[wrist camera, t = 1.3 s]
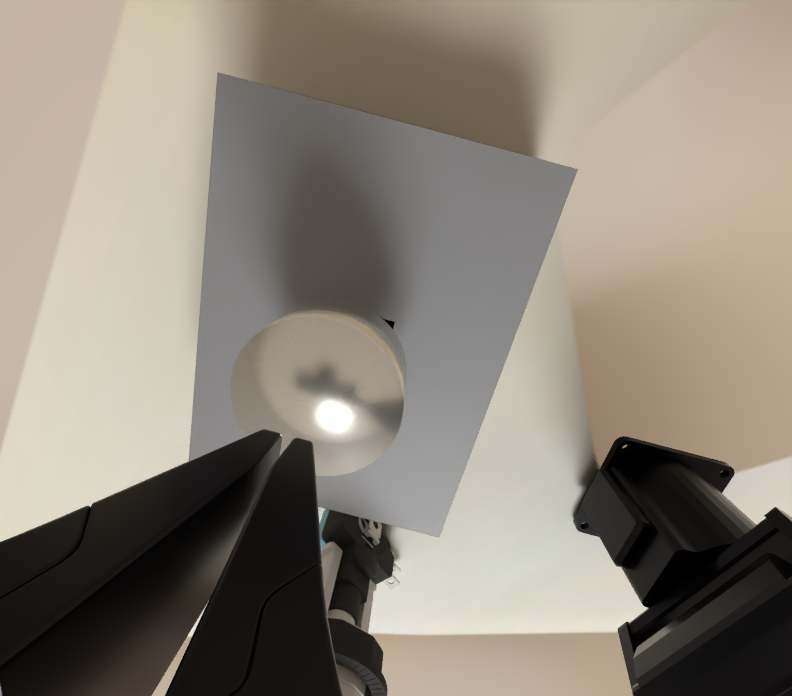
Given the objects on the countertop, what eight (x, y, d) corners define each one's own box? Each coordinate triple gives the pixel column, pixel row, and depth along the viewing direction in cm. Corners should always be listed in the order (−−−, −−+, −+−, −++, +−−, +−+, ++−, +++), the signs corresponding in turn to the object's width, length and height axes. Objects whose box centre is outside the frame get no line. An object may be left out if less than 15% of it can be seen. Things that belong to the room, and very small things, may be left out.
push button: (428, 549, 24) (431, 761, 15) (364, 582, 25) (329, 795, 16) (365, 477, 23) (322, 661, 13) (300, 516, 24) (220, 708, 14)
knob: (424, 291, 16) (424, 344, 9) (397, 387, 18) (380, 493, 11) (319, 264, 16) (239, 296, 9) (301, 362, 18) (222, 452, 11)
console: (534, 184, 17) (577, 169, 12) (435, 469, 22) (439, 537, 17) (276, 115, 17) (217, 72, 12) (239, 418, 22) (187, 473, 17)
